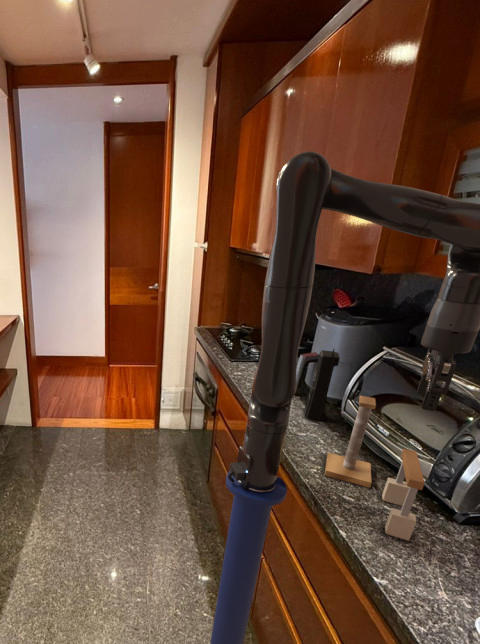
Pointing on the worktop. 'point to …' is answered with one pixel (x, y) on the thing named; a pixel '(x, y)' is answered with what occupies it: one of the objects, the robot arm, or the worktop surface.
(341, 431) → the worktop surface
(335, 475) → the headphone stand
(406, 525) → the brown blocky piece
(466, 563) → the worktop surface
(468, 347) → the robot arm
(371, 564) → the worktop surface
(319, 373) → the portable radio
